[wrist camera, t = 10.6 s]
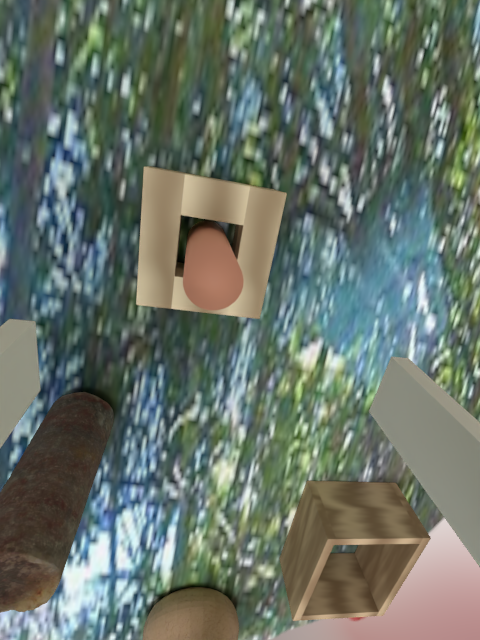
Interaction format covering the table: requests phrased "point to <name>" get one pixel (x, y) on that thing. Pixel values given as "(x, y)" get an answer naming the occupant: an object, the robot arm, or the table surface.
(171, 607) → the potted plant
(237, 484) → the table surface
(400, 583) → the frame
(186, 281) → the peg
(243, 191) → the socket block
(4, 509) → the brown log
